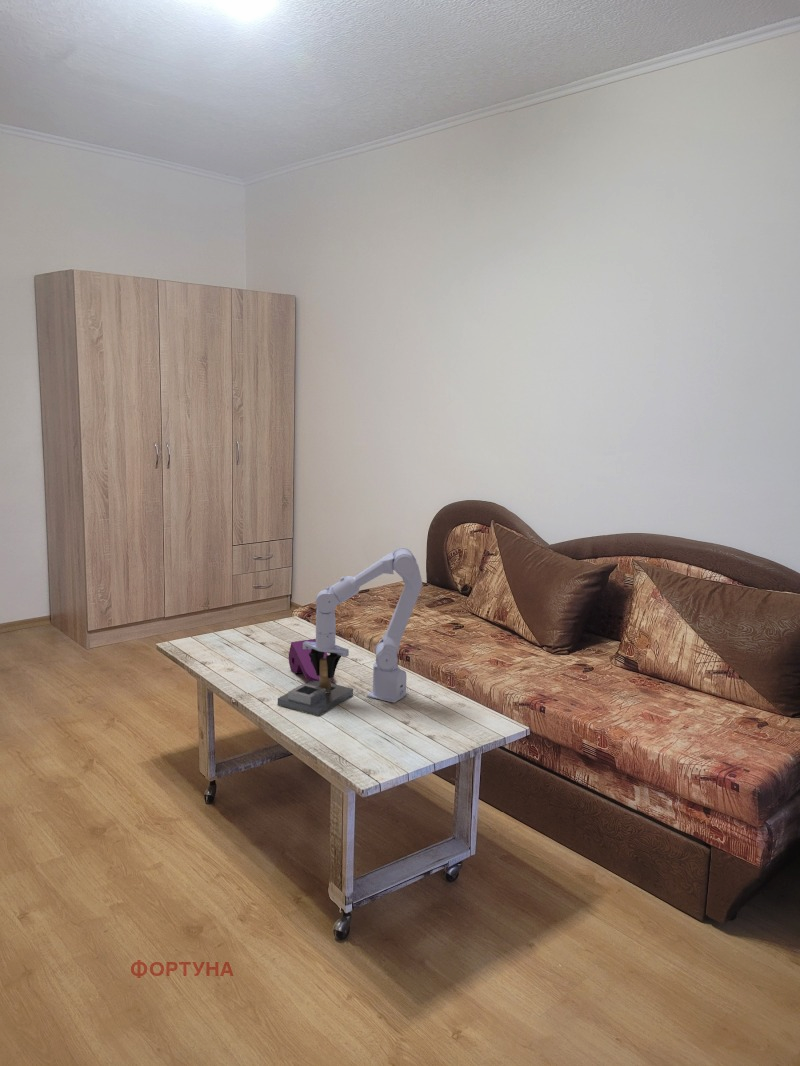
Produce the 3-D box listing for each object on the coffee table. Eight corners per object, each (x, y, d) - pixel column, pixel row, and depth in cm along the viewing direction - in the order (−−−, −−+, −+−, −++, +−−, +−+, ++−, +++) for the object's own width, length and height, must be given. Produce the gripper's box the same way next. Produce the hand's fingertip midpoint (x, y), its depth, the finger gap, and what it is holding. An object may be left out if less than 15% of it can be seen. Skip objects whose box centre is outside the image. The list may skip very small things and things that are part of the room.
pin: (333, 688, 237) (333, 658, 235) (326, 691, 234) (327, 662, 232) (323, 685, 238) (323, 656, 237) (317, 689, 235) (317, 660, 234)
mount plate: (353, 695, 237) (353, 680, 236) (318, 715, 221) (318, 700, 221) (313, 685, 244) (314, 671, 243) (277, 705, 228) (277, 690, 227)
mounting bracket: (334, 697, 250) (314, 657, 262) (339, 677, 245) (319, 638, 258) (305, 701, 245) (287, 661, 258) (310, 682, 241) (291, 641, 253)
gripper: (354, 631, 233) (353, 676, 236) (311, 624, 240) (311, 667, 242) (341, 638, 227) (341, 683, 229) (298, 630, 233) (298, 674, 236)
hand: (325, 675), depth 235 cm, fingers closed on pin, 3 cm apart
